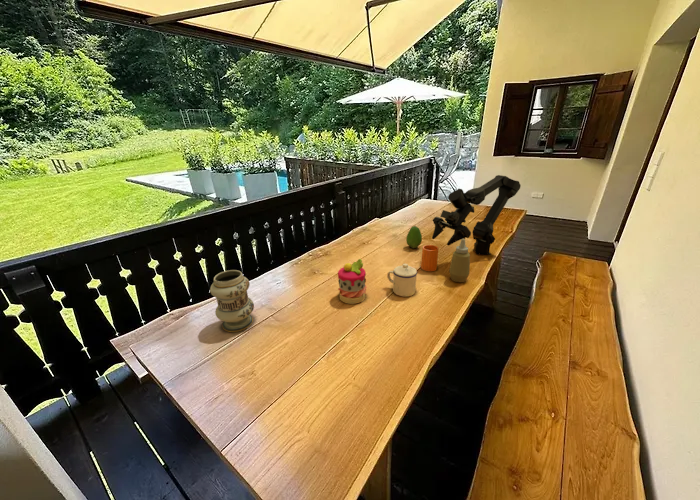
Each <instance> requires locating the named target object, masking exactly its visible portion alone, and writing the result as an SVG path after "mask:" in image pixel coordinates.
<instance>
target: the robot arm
mask: <svg viewBox="0 0 700 500" xmlns="http://www.w3.org/2000/svg"><path fill="white" fill-rule="evenodd" d="M497 189H498V190H497ZM520 189H521V183H520V181H519V180H515V179H513V178H510V177H508V176H506V175H502V174H501V175H500V174H498V175H495V177H493V178H492V179H490V180H489V181H487V182H486V183H484V184H482V185H481V186H479V187H475V188H470V189H467V190H466V191H465V192H464V190H463V189H462V188H457V189H456V190H454V191H452V192H450V193H449V194H448V196H447V198H448V201H449V202H450V203H451V204H452V206H453V207H454V208H455V210H454V211H448V210H444V209H443V210H442V211H441V213H440V217H439V216H434V217H433V219H432V222H433V225H434V230H433V233H432V236H431V239H432V240H435V239H436V238H437V237H438V236H440V234H441V233H442V232H443V231H444V229H445V228H448V229H451V230H452V231H453V230H454V232H453V234H452V235H451V237H450V238H449V240H448V241H447V243H446V245H447V246H451V245H452V244H455V243H457V242H459V241H461V240H462V239H465V240H466V239H469V238H470V237H471V235H472V239H473V240H474V241H475V242H474V245H473V248H472V250H473V252H474V253H475V254H476V255H479V256H480V255H481V256H482V255H483V256H484V255H488V256H489V255H491V252H490V249H491V245H492V244H493V243H494V242H495V240H496V237H495V236H494V235H493V233H494V225H495V223H496V221H497V220H498V218H499V216H500V214H501V213H502V212H503V210H504V208H505V207H506V204H507V203H508V201H509V200H510V199H512V198H514V197H515V196H516V195H517V194H518V192H519V191H520ZM496 190H497V191H498V195H497V197H496V199H494V201H493V203H492V206H491V207H490V208H489V210H488V211H487V213H486V214H485V216H484V219H483V220H482V221H477V222H476V224H475V226H473V229H472V232H471V229H469V227H468V226H467V225H464V223H466V221H467V220H466V218H467V217H468V216H469V215H470V213H473V214H474V213H475V206H479V205H480V204H482V203H483V202H484V201H485V199H486V197H487V196H488V195H490V194H491V193H493V192H495V191H496ZM473 205H474V206H473Z"/></svg>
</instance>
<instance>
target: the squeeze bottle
mask: <svg viewBox="0 0 700 500" xmlns="http://www.w3.org/2000/svg"><path fill="white" fill-rule="evenodd" d="M470 266H471V254H470V253H469V247H467V246H466V238H465V239H461V240H460V243H459V245H457V246H455V250H454V251H453V253H452V256H451V261H450V265H449V269H448V270H449V271H448V272H449V277H450V280H451V281H452V282H454V283H455V282H456V283H465V282H466V281H467V279H468V278H469V275H470V270H471V267H470Z"/></svg>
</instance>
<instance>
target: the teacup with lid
mask: <svg viewBox="0 0 700 500" xmlns="http://www.w3.org/2000/svg"><path fill="white" fill-rule="evenodd" d="M390 274H393V278H391V275H390ZM417 275H418V270H417V268H415V267H413V266H411V265H409V264H408V263H403V264H402V265H397V266H395V267H394V268H393V270H389V271H388V272H387V275H386V277H387V279H388V282H390V283H392V291H393V293H394V294H395V295H397V296H399V297H412V296H413V295H414V294H416V288H417V287H416V286H417Z"/></svg>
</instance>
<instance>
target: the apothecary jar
mask: <svg viewBox="0 0 700 500" xmlns="http://www.w3.org/2000/svg"><path fill="white" fill-rule="evenodd" d="M250 283H251V282H250V281H249V279H248V278H247V277H246V276H244V274H243V272H242V271H240V270H237V269H230V270H229V269H228V270H225V271H221V272H219V273H217V274H216V275H215V276H214V277H213V282H212V284H211V285H210V287H209V291H210V292H209V293H210V294H211V296H213V297H215V300H216V303H217V306H216V308H215V310H214V311H215V312H214V313H215V317H216V318H217V319H218V320H220V321H222V324H221V325H222V327H221V328H222V329H223V330H224V331H225V332H228V333H237V332H241V331H244V330H246V329H247V328H250V327H251V326H252V324H253V322H254V318H253V315H251V314H252V313H253V312H254V309H255V303H254V301H253V300H252V299H251V298H250V297H249V294H248V290H249V288H250Z"/></svg>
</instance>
